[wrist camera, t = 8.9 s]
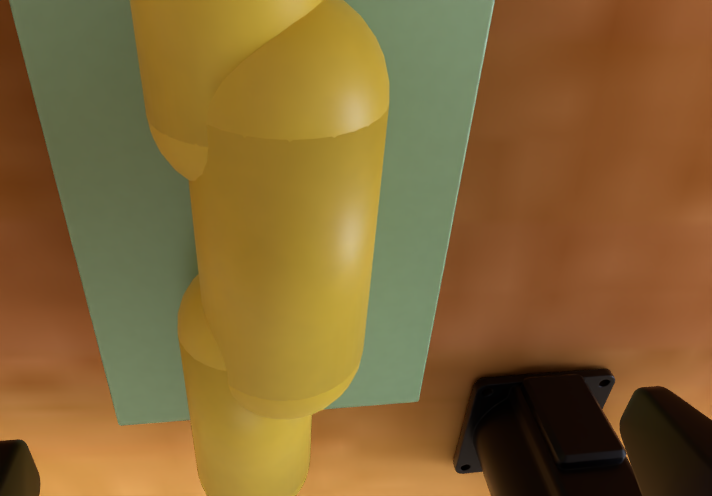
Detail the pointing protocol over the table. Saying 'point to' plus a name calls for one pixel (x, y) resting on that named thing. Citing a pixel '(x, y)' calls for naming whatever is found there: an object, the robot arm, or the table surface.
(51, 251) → the table surface
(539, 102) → the table surface
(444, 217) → the green block
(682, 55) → the table surface
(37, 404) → the table surface
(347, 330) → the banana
